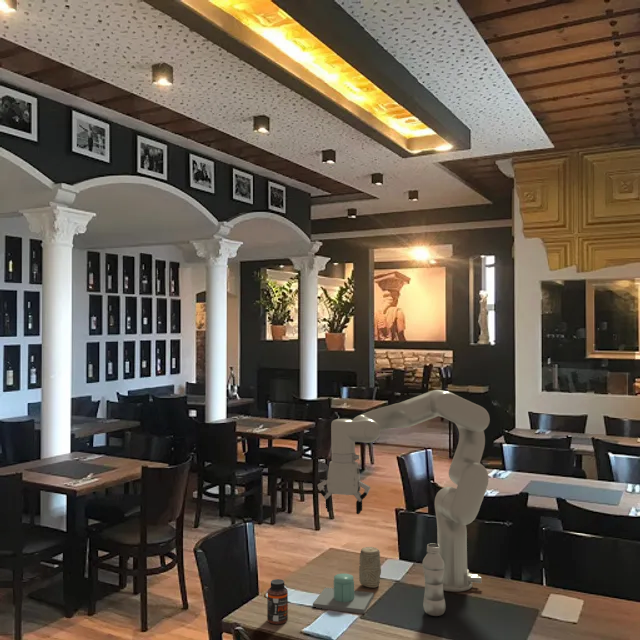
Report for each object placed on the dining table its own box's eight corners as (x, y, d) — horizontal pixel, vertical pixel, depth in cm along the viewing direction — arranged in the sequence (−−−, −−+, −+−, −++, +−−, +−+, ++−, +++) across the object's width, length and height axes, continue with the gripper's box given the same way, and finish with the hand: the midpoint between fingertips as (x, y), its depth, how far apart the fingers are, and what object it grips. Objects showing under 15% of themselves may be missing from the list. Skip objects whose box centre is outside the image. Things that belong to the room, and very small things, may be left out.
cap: (332, 595, 200) (332, 574, 200) (350, 593, 201) (350, 572, 201) (336, 602, 194) (336, 581, 194) (355, 600, 195) (355, 579, 195)
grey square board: (373, 596, 201) (373, 578, 201) (364, 613, 189) (363, 594, 189) (325, 591, 206) (325, 573, 206) (312, 607, 194) (312, 588, 194)
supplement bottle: (280, 627, 181) (279, 586, 181) (263, 622, 184) (262, 582, 184) (292, 619, 186) (291, 580, 186) (275, 614, 189) (275, 576, 189)
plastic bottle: (432, 620, 184) (431, 550, 184) (418, 611, 190) (417, 544, 190) (450, 616, 187) (449, 547, 187) (436, 607, 193) (435, 540, 193)
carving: (385, 586, 210) (384, 549, 210) (367, 591, 205) (366, 553, 206) (373, 580, 215) (372, 544, 215) (355, 585, 211) (354, 548, 211)
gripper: (372, 457, 205) (373, 510, 204) (320, 454, 210) (321, 507, 209) (367, 461, 198) (367, 517, 197) (314, 459, 203) (314, 513, 202)
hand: (343, 511), depth 203 cm, fingers open, 9 cm apart
